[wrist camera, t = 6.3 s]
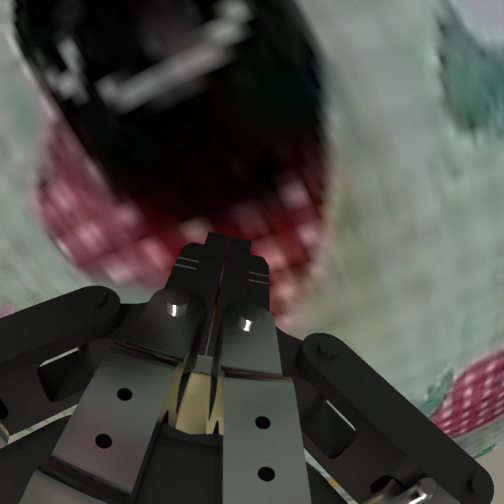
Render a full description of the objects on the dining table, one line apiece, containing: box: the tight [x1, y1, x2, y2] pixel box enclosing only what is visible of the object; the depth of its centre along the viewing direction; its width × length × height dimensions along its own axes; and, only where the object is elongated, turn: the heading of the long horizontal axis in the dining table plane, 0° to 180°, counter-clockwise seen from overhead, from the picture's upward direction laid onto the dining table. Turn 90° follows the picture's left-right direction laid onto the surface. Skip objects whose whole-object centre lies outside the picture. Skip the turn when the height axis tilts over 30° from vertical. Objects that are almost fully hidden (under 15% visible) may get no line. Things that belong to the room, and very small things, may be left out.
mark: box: [176, 372, 210, 434], centre depth 20 cm, size 13×13×1 cm
